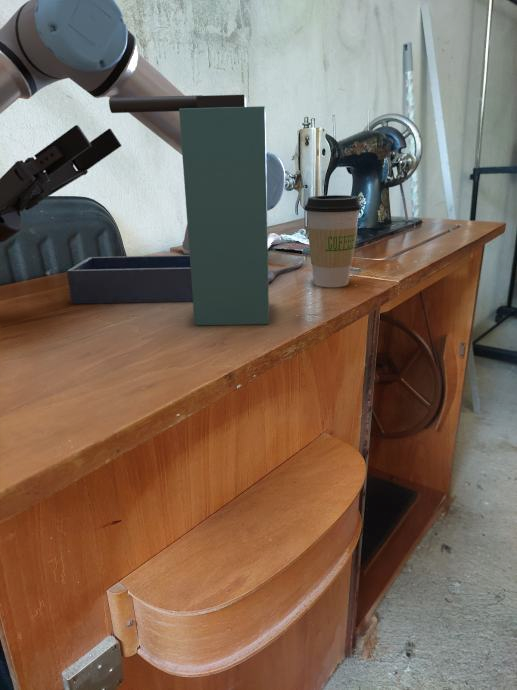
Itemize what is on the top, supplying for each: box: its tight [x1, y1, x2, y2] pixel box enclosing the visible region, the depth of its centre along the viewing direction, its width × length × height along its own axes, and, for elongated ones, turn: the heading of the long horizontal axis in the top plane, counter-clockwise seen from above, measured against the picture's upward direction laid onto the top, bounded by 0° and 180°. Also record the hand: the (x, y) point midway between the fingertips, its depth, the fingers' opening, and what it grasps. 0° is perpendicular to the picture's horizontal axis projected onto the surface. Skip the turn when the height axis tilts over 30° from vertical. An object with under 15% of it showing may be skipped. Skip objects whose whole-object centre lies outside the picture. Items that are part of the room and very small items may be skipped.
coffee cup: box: [304, 194, 363, 288], centre depth 91 cm, size 10×10×15 cm
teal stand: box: [179, 105, 270, 326], centre depth 72 cm, size 10×9×28 cm
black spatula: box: [108, 93, 247, 114], centre depth 67 cm, size 18×6×2 cm, turn 89°
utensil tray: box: [66, 254, 193, 305], centre depth 89 cm, size 23×11×6 cm, turn 89°
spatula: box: [268, 232, 282, 249], centre depth 121 cm, size 28×4×3 cm, turn 173°
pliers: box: [268, 259, 303, 284], centre depth 102 cm, size 10×1×20 cm
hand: (101, 136), depth 68 cm, fingers open, 13 cm apart
